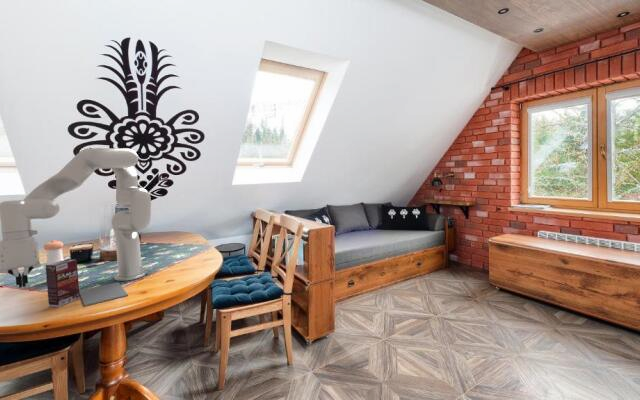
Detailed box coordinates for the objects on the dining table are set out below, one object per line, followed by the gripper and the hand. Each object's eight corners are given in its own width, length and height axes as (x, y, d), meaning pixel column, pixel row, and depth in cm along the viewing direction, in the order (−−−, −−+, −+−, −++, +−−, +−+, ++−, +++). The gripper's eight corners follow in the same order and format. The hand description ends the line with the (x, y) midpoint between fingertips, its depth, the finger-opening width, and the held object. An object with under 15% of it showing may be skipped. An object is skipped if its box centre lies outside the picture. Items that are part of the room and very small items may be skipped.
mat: (118, 283, 139) (118, 281, 139) (127, 295, 125) (127, 294, 125) (78, 291, 130) (78, 290, 130) (84, 306, 115) (84, 305, 115)
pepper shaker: (59, 283, 140) (55, 241, 139) (42, 283, 140) (38, 242, 138) (71, 277, 148) (67, 238, 146) (54, 278, 147) (50, 238, 145)
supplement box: (58, 307, 115) (54, 265, 113) (48, 306, 116) (44, 265, 114) (81, 298, 123) (77, 259, 122) (71, 297, 124) (67, 258, 123)
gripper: (45, 231, 117) (49, 278, 119) (-13, 237, 107) (-7, 288, 109) (45, 233, 112) (50, 283, 113) (-15, 240, 102) (-9, 294, 103)
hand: (22, 286), depth 111 cm, fingers closed
